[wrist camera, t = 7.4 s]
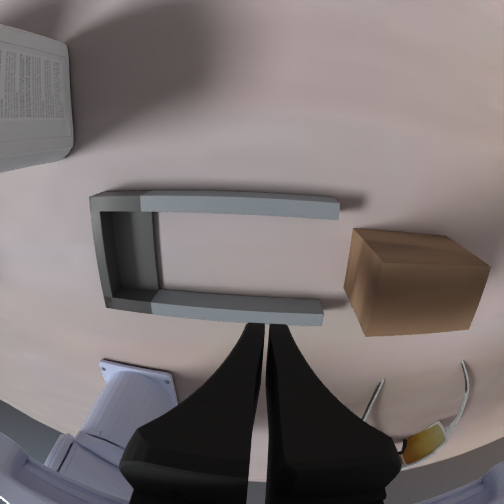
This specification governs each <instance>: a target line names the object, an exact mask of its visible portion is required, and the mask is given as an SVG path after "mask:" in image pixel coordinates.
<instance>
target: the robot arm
mask: <svg viewBox="0 0 504 504" xmlns="http://www.w3.org/2000/svg"><path fill="white" fill-rule="evenodd" d="M264 335H265V323H252V322H249V323H247V324H246V326H245V329H244V331H243V333H242V335H241V337H240V339H239V340H238V342H237V344H236V345H235V347H234V348H233V350H232V351H231V353H230V354H229V356H228V357H227V358H226V359H225V361H224V362H223V363H222V364H221V366H220V367H219V368H218V369H217V371H216V372H215V373H214V374H213V375H212V376H211V377H210V378H209V379H208V380H207V381H206V382H205V383H204V384H203V385H202V386H201V387H200V388H199V389H197V390H196V391H195V392H194V393H193V394H192V395H190V396H189V397H188V398H187V399H185V400H184V401H183V402H181V403H180V404H178V401H177V396H176V391H175V387H174V382H173V377H172V375H171V374H170V373H167V372H161V371H155V370H150V369H144V368H139V367H134V366H129V365H124V364H119V363H115V362H110V361H106V360H100V361H99V366H100V369H101V372H102V374H103V377H104V380H105V382H106V385H105V387H104V389H103V390H102V392H101V394H100V395H99V397H98V399H97V401H96V402H95V404H94V406H93V408H92V409H91V411H90V413H89V415H88V417H87V418H86V420H85V422H84V424H83V426H82V428H81V429H80V431H79V433H78V434H77V435H76V437H75V438H74V440H73V436H72V435H71V434H69V433H67V434H66V435H65V434H64V435H60V437H59V438H58V440H57V442H56V443H55V445H54V447H53V449H52V450H51V452H50V454H49V456H48V458H47V460H46V462H45V463H44V465H43V464H42V463H39V462H38V461H36V460H35V459H33V458H31V457H29V456H28V454H27V453H26V452H25V450H24V449H23V448H22V447H21V446H20V445H18V444H17V443H16V442H15V441H13V440H12V439H10V438H9V437H7V436H6V435H4V434H3V433H1V432H0V498H1V499H3V500H4V501H5V502H6V503H7V504H246V500H247V488H248V476H249V464H250V451H251V438H252V431H253V424H254V419H255V413H256V408H257V402H258V396H259V390H260V384H261V373H262V361H263V348H264ZM266 399H267V413H268V427H269V445H268V465H267V482H266V497H265V504H384V502H383V500H384V499H385V498H386V491H385V487H386V486H387V485H388V484H389V483H390V482H391V481H392V480H393V479H394V478H395V477H396V476H397V474H398V473H399V472H400V470H401V468H402V463H401V460H400V457H399V454H398V451H397V449H396V446H395V444H394V442H393V440H392V438H391V437H389V436H387V435H386V434H384V433H382V432H381V431H379V430H377V429H375V428H374V427H372V426H370V425H369V424H367V423H366V422H365V421H363V420H362V419H360V418H359V417H358V416H356V415H355V414H354V413H353V412H351V411H350V410H349V409H348V408H347V407H346V406H344V405H343V404H342V403H341V402H340V401H339V400H338V399H337V398H336V397H335V396H334V395H333V394H332V393H331V392H330V391H329V390H328V389H327V388H326V387H325V385H324V384H323V383H322V382H321V381H320V380H319V378H318V377H317V376H316V374H315V373H314V372H313V370H312V369H311V368H310V366H309V365H308V363H307V362H306V360H305V358H304V357H303V355H302V354H301V352H300V350H299V349H298V347H297V345H296V343H295V341H294V339H293V337H292V335H291V333H290V330H289V328H288V326H287V325H286V324H270V327H269V339H268V351H267V362H266ZM416 504H504V461H502V462H500V463H498V464H497V465H495V466H494V467H492V468H491V469H490V470H489V471H487V472H486V473H485V474H484V475H483V476H482V478H480V479H477V480H475V481H473V482H471V483H469V484H467V485H464V486H462V487H460V488H457V489H455V490H452V491H450V492H447V493H445V494H442V495H439V496H437V497H434V498H431V499H428V500H425V501H422V502H419V503H416Z"/></svg>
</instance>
